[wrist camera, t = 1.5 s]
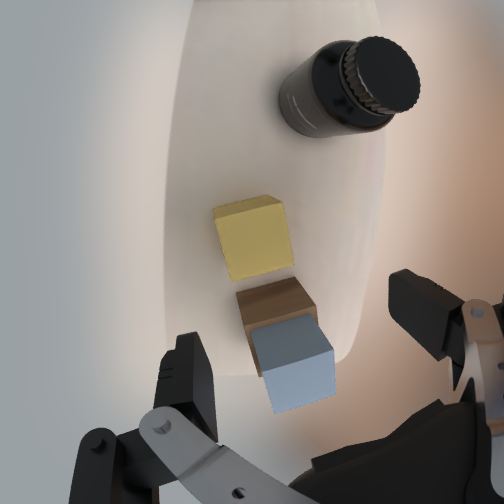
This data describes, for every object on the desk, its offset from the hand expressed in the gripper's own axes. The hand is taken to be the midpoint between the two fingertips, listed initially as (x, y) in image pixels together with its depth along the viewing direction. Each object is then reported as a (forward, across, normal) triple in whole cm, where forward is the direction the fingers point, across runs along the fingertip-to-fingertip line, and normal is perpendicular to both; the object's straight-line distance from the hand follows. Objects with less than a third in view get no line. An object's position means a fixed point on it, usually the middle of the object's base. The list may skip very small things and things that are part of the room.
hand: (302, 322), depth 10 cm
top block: (+16, 0, 0) cm, 16 cm away
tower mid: (+10, 0, +9) cm, 13 cm away
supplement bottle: (+16, -8, -10) cm, 21 cm away
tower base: (+16, 0, +9) cm, 18 cm away
